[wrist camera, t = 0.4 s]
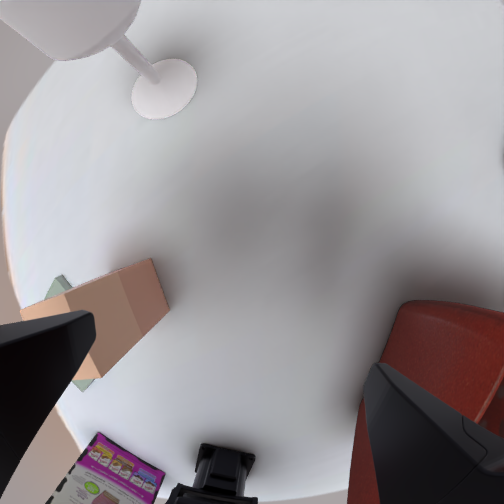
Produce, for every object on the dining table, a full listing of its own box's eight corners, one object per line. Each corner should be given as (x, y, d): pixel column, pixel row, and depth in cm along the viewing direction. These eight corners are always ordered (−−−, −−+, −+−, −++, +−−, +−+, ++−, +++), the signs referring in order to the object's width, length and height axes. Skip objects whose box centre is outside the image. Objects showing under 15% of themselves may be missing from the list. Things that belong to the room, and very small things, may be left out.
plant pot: (381, 255, 23) (527, 323, 6) (508, 290, 22) (609, 336, 5) (317, 427, 25) (338, 560, 9) (446, 425, 25) (500, 507, 8)
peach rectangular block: (170, 310, 25) (101, 377, 13) (127, 321, 25) (51, 381, 13) (151, 258, 24) (64, 293, 12) (108, 273, 25) (19, 310, 13)
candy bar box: (91, 444, 29) (40, 513, 13) (98, 430, 28) (39, 506, 12) (155, 483, 29) (121, 562, 13) (167, 473, 28) (131, 560, 12)
